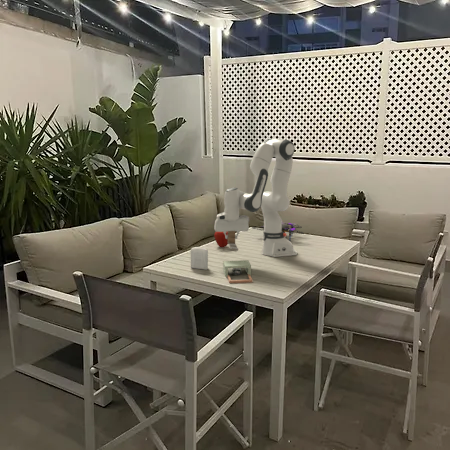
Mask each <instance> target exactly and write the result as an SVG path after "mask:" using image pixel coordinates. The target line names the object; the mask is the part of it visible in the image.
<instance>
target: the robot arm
mask: <svg viewBox="0 0 450 450" xmlns="http://www.w3.org/2000/svg"><path fill="white" fill-rule="evenodd" d="M294 152H295V144H294V142H292V141H291V140H289V139H283V138H274V139H273V138H268V139H266V140H265V141H264V142H262V143H260V144H259V146H258V147H257V149H256V151H255V153H253V156H252V158H251V162H250V164H249V169H250V171H251V173H252V174H253V175H254V176H255V184H254V186H253V190H252V192H251V193H248V192H244V191H242V190H240V189H239V188H238V187H229V188H226V190H225V191H224V196H223V197H224V199H223V200H224V201H223V204H224V209H223V212H220V213H218V214H217V215H216V219H215V221H214V227H213V228H214V231H215V232H224V234H225V236H226V239H228V235H226V232H228V231H235V232H236V233H235V240H236V239H237V240H238V236H239V234H240V232H248V231H249V230H250V227H249V225H250V224H249V222H250V217H249V216H248V215H245V214H244V215H243V214H242V215H240V209H241V210H246V211H248V212H250V213H256V212H258V211H259V210H260V209H261V212H262V216H263V226H264V231H262V232H263V233H262V240H263V243H262V248H261V249H262V250H261V252H260V253H261V254H262V255H265V256H268V257H274V258H279V257H289V256H297V254H298V252H297V250H296V249H294V245H293V243H292V242H291V241H289V239H288V238H286V237H287V235H288V234H287V232H285V233H284V232H282V224H283V220H282V217H281V215H280V214H279V212H284V211H287V210H288V209H289V207H290V204H291V203H290V202H291V201H290V198H289V196H288V183H289V181H290V177H291V173H292V168H293V161H294V160H293V155H294ZM273 158H275V163H274V166H273V169H272V173H271V176H270V180H269V181H270V184H271V191H269V190H268V191H265V188H266V185H267V182H268V179H269V178H268V177H269V168H270V165H271V162H272V160H273Z"/></svg>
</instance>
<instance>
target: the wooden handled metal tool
mask: <svg viewBox="0 0 450 450" xmlns="http://www.w3.org/2000/svg"><path fill="white" fill-rule="evenodd" d="M235 235H236V231H228V244H227V246H228V245H229V247H230V250H231V251H239V248H238V246H237V244H236V239H235Z"/></svg>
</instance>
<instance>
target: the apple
mask: <svg viewBox="0 0 450 450" xmlns="http://www.w3.org/2000/svg"><path fill="white" fill-rule="evenodd" d="M226 235H228V232H226ZM214 239H215V243H216V245H217V246H218V247H219V248H225V247H227V246H228V239H226V236H225V234H224V232H216V231H215V232H214Z"/></svg>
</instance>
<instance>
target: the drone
mask: <svg viewBox="0 0 450 450" xmlns="http://www.w3.org/2000/svg"><path fill="white" fill-rule="evenodd" d="M302 227H303V226H302V225H299V224H297V223H291V222H282V232H284V233H287V234H289V235H288V236H289V238H288V240H289V241H290V242H291V238H292V237H293V235H298V234H299V235H300V234H301V235H304V234H305V232H303V231H299V230H298V229H302ZM252 230H256V231H260V232H261V231H262V232H263V231H264V225H263V226H262V225H261V226H260V227H256V226H252Z"/></svg>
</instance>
